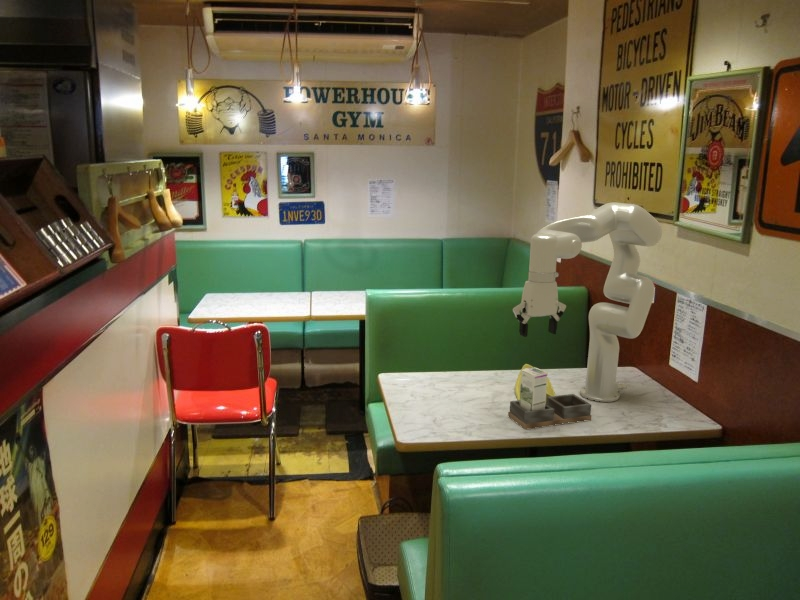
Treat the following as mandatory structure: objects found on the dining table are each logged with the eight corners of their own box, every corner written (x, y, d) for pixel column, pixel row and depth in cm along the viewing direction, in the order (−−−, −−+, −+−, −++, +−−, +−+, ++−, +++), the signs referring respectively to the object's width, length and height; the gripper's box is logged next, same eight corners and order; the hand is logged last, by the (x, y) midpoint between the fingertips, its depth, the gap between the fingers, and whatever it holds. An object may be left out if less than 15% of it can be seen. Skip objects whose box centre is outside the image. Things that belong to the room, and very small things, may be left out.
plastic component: (557, 398, 218) (530, 385, 217) (545, 417, 220) (518, 403, 219) (547, 374, 237) (522, 361, 236) (536, 391, 239) (511, 378, 238)
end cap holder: (572, 408, 216) (573, 393, 215) (591, 420, 207) (592, 404, 206) (508, 416, 208) (509, 401, 207) (524, 429, 199) (526, 413, 198)
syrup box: (545, 417, 205) (549, 371, 201) (530, 421, 201) (534, 374, 198) (532, 411, 209) (535, 366, 206) (517, 414, 206) (520, 369, 203)
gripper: (560, 273, 202) (556, 328, 206) (508, 276, 196) (505, 333, 200) (575, 278, 195) (570, 335, 199) (522, 281, 189) (518, 340, 193)
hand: (537, 334), depth 200 cm, fingers open, 9 cm apart
